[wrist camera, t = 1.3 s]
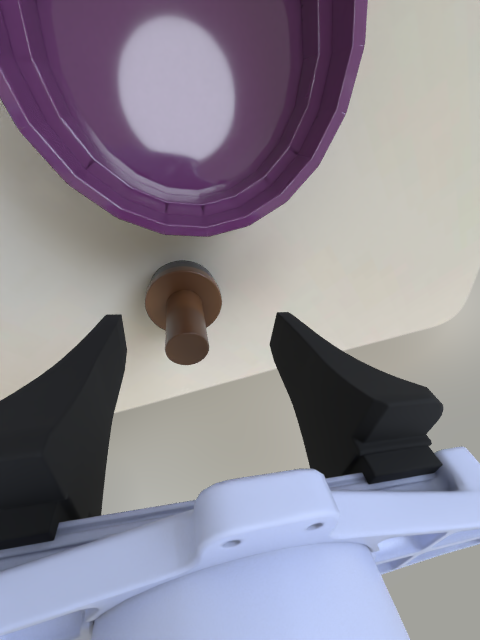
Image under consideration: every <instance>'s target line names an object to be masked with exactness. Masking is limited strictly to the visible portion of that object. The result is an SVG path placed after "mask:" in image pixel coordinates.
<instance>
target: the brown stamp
mask: <svg viewBox="0 0 480 640" xmlns="http://www.w3.org/2000/svg"><path fill="white" fill-rule="evenodd" d="M221 305H222V299H221V294H220V290H219V287H218V285H217V283H216V282H215V281H214V279H213V277H212V275H211V274H210V273H209V271H208V270H206V269H205V268H204V267H203V266H201V265H199V264H197V263H194V262H190V261H175V262H171V263H168V264H166V265H164V266H163V267H161V268H160V269H159V270H158V271H157V272H156V273H155V274H154V276H153V278H152V280H151V282H150V284H149V286H148V288H147V291H146V297H145V307H146V311H147V313H148V315H149V317H150V318H151V320H152V321H153V322H154V323H155V324H156V325H157V326H159V327H160V328H162V329H164V330H166V340H165V352H166V355H167V357H168V358H169V359H170V360H171V361H173V362H174V363H177V364H180V365H191V364H195V363H198V362H200V361H201V360H203V359H204V358H205V357H206V355H207V353H208V351H209V343H208V337H207V331H206V327H208V326H209V325H210V324H212V323H213V322H214V321H215V319H216V318H217V316H218V314H219V312H220V310H221Z"/></svg>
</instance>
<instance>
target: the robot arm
mask: <svg viewBox="0 0 480 640" xmlns="http://www.w3.org/2000/svg"><path fill="white" fill-rule="evenodd" d="M270 347H271V351H272V355H273V359H274V362H275V364H276V367H277V369H278V371H279V373H280V376H281V378H282V380H283V383H284V385H285V387H286V389H287V392H288V394H289V396H290V399H291V401H292V404H293V407H294V410H295V413H296V417H297V420H298V423H299V426H300V430H301V434H302V437H303V441H304V445H305V448H306V452H307V457H308V460H309V465H310V469H295V470H289V471H282V472H276V473H269V474H262V475H255V476H249V477H242V478H236V479H230V480H226V481H222V482H219V483H215V484H213V485H211V486H210V487H208V488H206V489H204V490H203V491H202V492H201V493H200V494H199V496H198V497H197V499H196V500H193V501H187V502H181V503H174V504H168V505H162V506H156V507H150V508H144V509H138V510H133V511H126V512H120V513H114V514H107V515H101V509H102V499H103V489H104V480H105V470H106V463H107V455H108V446H109V439H110V432H111V425H112V419H113V415H114V410H115V407H116V403H117V399H118V395H119V391H120V387H121V383H122V379H123V375H124V371H125V363H126V354H127V347H126V341H125V334H124V328H123V322H122V315H106V316H104V317H103V319H102V320H101V321H100V322H99V323H98V324H97V325H96V326H95V327H94V328H93V329H92V330H91V332H90V333H89V334H88V335H87V336H86V337H85V338H84V339H83V340H82V341H81V342H80V343H79V344H78V345H77V346H76V347H75V348H74V349H72V350H71V351H70V352H69V353H68V354H67V355H66V356H65V357H64V358H62V359H61V360H60V361H59V362H58V363H56V364H55V365H54V366H53V367H51V368H50V369H49V370H47V371H46V372H45V373H43V374H42V375H41V376H39V377H38V378H36V379H35V380H33V381H32V382H30V383H28V384H27V385H25V386H24V387H22V388H21V389H19V390H18V391H16V392H15V393H13V394H11V395H9V396H8V397H6V398H4V399H3V400H1V401H0V640H410V638H409V636H408V634H407V631H406V629H405V627H404V625H403V623H402V621H401V619H400V616H399V614H398V612H397V609H396V607H395V605H394V603H393V601H392V598H391V597H390V594H389V592H388V590H387V588H386V586H385V584H384V581H383V579H382V577H381V575H382V574H385V573H387V572H391V571H394V570H397V569H400V568H402V567H406V566H409V565H412V564H415V563H418V562H421V561H424V560H427V559H430V558H433V557H437V556H440V555H443V554H446V553H450V552H453V551H456V550H459V549H464V548H467V547H471V546H474V545H478V544H480V464H479V462H478V461H477V460H476V459H475V458H474V457H473V455H472V454H470V452H469V451H468V450H467V449H466V448H465V447H462V446H461V447H456V448H449V449H443V450H440V451H437V452H435V453H433V452H432V450H431V449H430V448H429V446H430V445H431V444H432V443H431V440H430V439H429V438H428V436H427V435H426V434H427V432H428V431H429V430H430V429H431V428H432V427H433V425H434V424H435V423H436V422H437V421H438V420H439V418H440V417H441V415H442V412H443V405H442V403H441V402H440V401H439V400H438V399H437V398H436V397H435V396H434V395H433V393H431V391H430V390H429V389H428V388H427V387H424V386H421V385H418V384H415V383H412V382H409V381H406V380H403V379H400V378H397V377H395V376H392V375H390V374H387V373H385V372H382V371H380V370H378V369H375V368H373V367H371V366H369V365H367V364H365V363H363V362H361V361H359V360H357V359H355V358H354V357H352V356H350V355H348V354H346V353H345V352H343V351H341V350H340V349H338V348H337V347H335V346H334V345H332V344H331V343H329V342H328V341H326V340H325V339H323V338H322V337H321V336H319V335H318V334H317V333H315V332H314V331H313V330H311V329H310V328H309V327H308V326H306V325H305V324H304V323H302V322H301V321H300V320H299V319H297V318H296V317H295V316H293V315H292V314H290V313H289V312H277V315H276V319H275V323H274V328H273V332H272V336H271V341H270Z"/></svg>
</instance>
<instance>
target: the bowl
mask: <svg viewBox="0 0 480 640" xmlns="http://www.w3.org/2000/svg"><path fill="white" fill-rule="evenodd" d="M367 3H368V0H0V98H1V100H2V102H3V104H4V105H5V107H6V109H7V111H8V112H9V114H10V116H11V118H12V119H13V121H14V123H15V125H16V126H17V128H18V129H19V131H20V132H21V133H22V134H23V136H24V137H25V138H26V139H27V140H28V141H29V142H30V143H31V144H32V146H33V147H34V148H35V149H36V150H37V151H38V152H39V153H40V154H41V155H42V157H43V158H44V159H45V160H46V161H47V162H48V163H49V164H50V165H51V166H52V168H53V169H54V170H55V171H56V172H57V173H58V174H59V175H60V176H61V178H62V179H63V180H64V181H65V182H66V183H67V184H69V186H71V187H72V188H74V189H75V190H77V191H78V192H80V193H81V194H82V195H84V196H85V197H87V198H88V199H90V200H91V201H93V202H94V203H96V204H97V205H99V206H100V207H101V208H103V209H104V210H106V211H107V212H109V213H110V214H112V215H113V216H115V217H117V218H118V219H121V220H124V221H126V222H129V223H132V224H135V225H138V226H141V227H143V228H146V229H149V230H152V231H155V232H158V233H160V234H165V235H180V236H201V237H207V236H208V237H209V236H213V235H217V234H221V233H224V232H228V231H232V230H235V229H239V228H243V227H247V226H248V225H251V224H253V223H254V222H256V221H257V220H259V219H261V218H262V217H264V216H265V215H267V214H268V213H270V212H272V211H273V210H275V209H276V208H278V207H279V206H281V205H283V204H284V203H285V202H287V201H288V200H289V199H290V197H291V196H292V195H293V194H294V193H295V192H296V191H297V190H298V188H299V187H300V186H301V185H302V184H303V183H304V182H305V181H306V180H307V178H308V177H309V176H310V175H311V174H312V173H313V172H314V171H315V169H316V168H317V167H318V166H319V164H320V162H321V161H322V159H323V157H324V155H325V153H326V151H327V149H328V147H329V145H330V143H331V141H332V140H333V138H334V136H335V134H336V132H337V130H338V128H339V126H340V124H341V122H342V120H343V119H344V117H345V113H346V112H347V109H348V105H349V101H350V98H351V94H352V90H353V87H354V83H355V79H356V76H357V72H358V68H359V65H360V61H361V57H362V53H363V50H364V45H365V34H366V18H367Z"/></svg>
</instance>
